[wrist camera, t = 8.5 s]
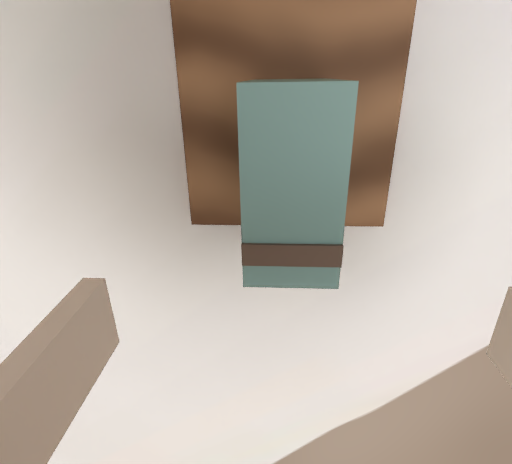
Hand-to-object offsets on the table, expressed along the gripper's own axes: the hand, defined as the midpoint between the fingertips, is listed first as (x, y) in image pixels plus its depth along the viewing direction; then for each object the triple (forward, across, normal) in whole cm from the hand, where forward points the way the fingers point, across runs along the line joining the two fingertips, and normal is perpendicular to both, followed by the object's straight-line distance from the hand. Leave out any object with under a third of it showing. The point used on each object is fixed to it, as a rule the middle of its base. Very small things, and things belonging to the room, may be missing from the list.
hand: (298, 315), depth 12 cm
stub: (+17, 0, +2) cm, 17 cm away
